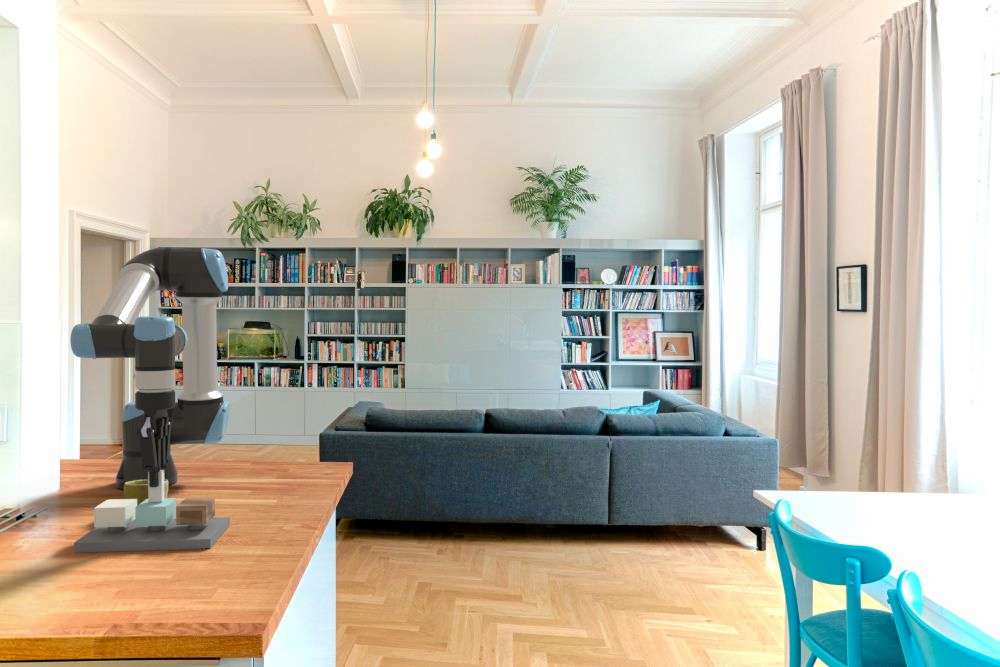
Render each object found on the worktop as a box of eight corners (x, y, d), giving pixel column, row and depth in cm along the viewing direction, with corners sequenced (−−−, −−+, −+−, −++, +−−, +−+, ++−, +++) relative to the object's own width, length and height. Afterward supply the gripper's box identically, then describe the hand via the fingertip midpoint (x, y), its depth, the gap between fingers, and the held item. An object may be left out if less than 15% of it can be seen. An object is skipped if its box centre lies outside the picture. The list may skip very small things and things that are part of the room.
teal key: (147, 517, 144) (147, 498, 144) (176, 516, 145) (176, 498, 145) (135, 526, 138) (135, 507, 138) (166, 525, 139) (165, 506, 139)
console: (106, 529, 147) (106, 505, 147) (229, 525, 150) (229, 503, 150) (74, 552, 133) (73, 526, 133) (210, 548, 136) (210, 523, 136)
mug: (151, 516, 150) (146, 472, 152) (114, 527, 152) (109, 483, 154) (190, 511, 162) (184, 470, 164) (154, 521, 164) (149, 480, 166)
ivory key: (107, 517, 143) (107, 499, 143) (137, 517, 144) (137, 498, 144) (94, 527, 137) (93, 508, 137) (125, 526, 138) (125, 507, 138)
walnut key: (186, 516, 145) (186, 497, 145) (215, 515, 146) (214, 497, 146) (176, 525, 139) (176, 506, 139) (206, 524, 140) (206, 505, 140)
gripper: (148, 385, 146) (150, 492, 147) (122, 394, 133) (124, 510, 135) (184, 385, 147) (185, 491, 148) (162, 394, 134) (163, 509, 135)
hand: (156, 500), depth 141 cm, fingers closed
